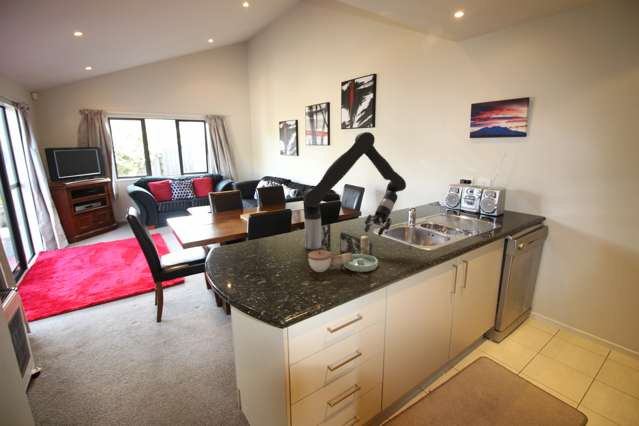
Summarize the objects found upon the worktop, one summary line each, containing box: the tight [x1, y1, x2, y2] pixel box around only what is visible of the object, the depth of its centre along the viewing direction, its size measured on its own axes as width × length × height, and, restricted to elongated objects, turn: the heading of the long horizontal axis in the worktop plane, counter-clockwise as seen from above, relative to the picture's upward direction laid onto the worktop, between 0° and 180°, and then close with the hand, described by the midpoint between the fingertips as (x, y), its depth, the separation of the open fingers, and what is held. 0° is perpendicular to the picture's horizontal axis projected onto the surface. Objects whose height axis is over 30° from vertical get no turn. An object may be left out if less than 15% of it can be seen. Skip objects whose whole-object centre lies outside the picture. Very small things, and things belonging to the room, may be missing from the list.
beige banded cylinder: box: [330, 251, 353, 267], centre depth 143 cm, size 4×4×10 cm
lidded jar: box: [307, 249, 332, 273], centre depth 142 cm, size 11×11×9 cm
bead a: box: [360, 235, 370, 255], centre depth 158 cm, size 4×4×10 cm
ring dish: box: [343, 253, 379, 273], centre depth 147 cm, size 16×16×3 cm
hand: (372, 233), depth 161 cm, fingers open, 8 cm apart
